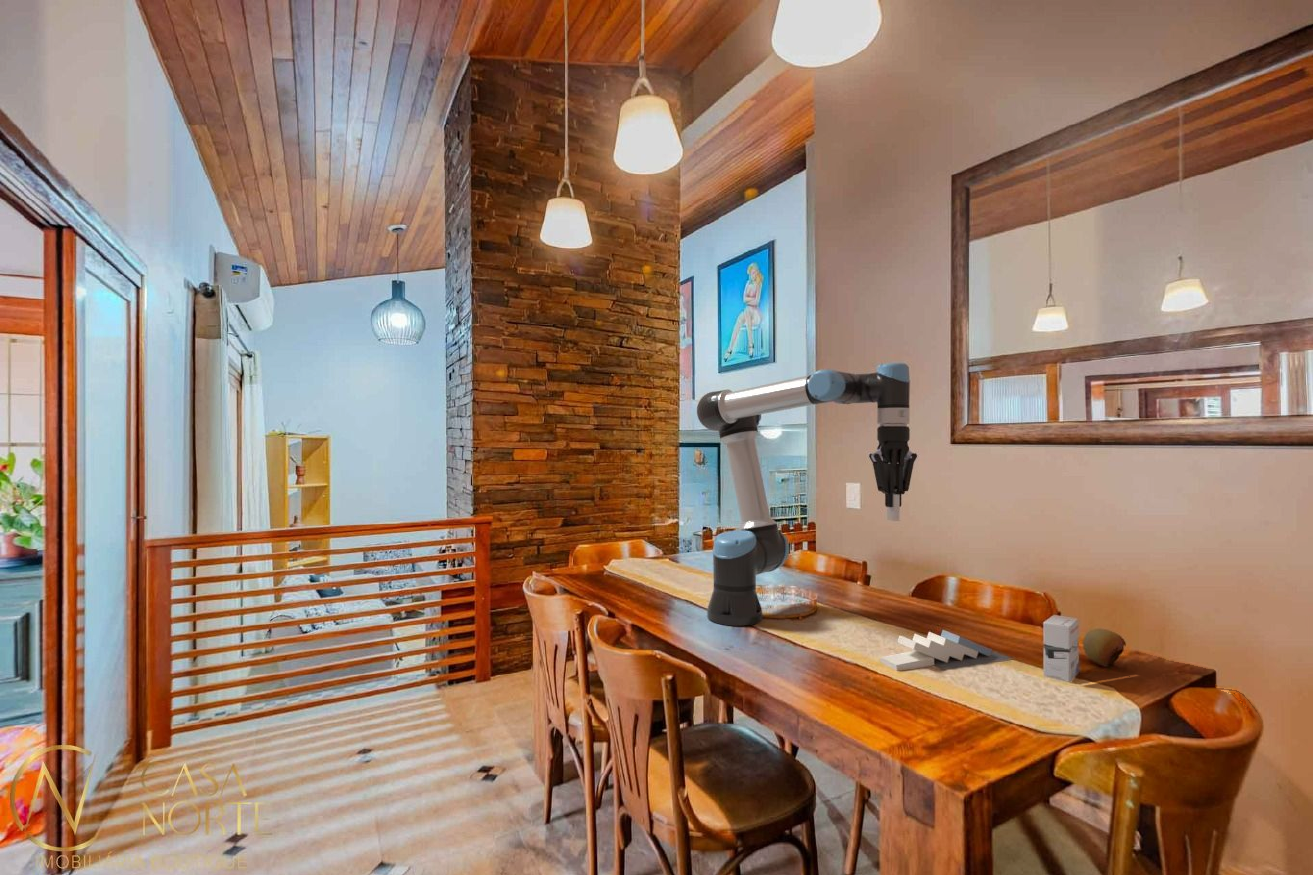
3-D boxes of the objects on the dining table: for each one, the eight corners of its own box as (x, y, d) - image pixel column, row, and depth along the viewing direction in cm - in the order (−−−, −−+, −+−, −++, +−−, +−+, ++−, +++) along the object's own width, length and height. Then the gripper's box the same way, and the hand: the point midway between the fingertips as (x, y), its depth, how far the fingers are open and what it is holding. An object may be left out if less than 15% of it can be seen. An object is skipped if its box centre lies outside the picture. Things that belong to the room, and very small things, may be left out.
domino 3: (961, 660, 136) (928, 647, 133) (944, 653, 140) (912, 640, 137) (964, 654, 136) (931, 640, 133) (946, 646, 140) (914, 633, 138)
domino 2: (947, 662, 134) (913, 649, 131) (930, 655, 139) (897, 642, 136) (949, 655, 134) (915, 642, 131) (932, 648, 139) (899, 635, 136)
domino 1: (934, 664, 133) (896, 672, 130) (917, 657, 138) (881, 664, 135) (934, 657, 133) (896, 665, 130) (917, 650, 138) (880, 657, 135)
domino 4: (976, 658, 137) (943, 645, 134) (958, 651, 142) (926, 638, 139) (978, 651, 137) (945, 638, 134) (960, 644, 142) (928, 631, 139)
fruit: (1121, 662, 135) (1121, 626, 135) (1129, 675, 128) (1129, 637, 128) (1080, 657, 139) (1080, 622, 139) (1085, 669, 132) (1085, 632, 132)
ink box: (1052, 667, 133) (1052, 613, 133) (1080, 673, 129) (1080, 618, 129) (1042, 678, 127) (1042, 621, 127) (1070, 685, 123) (1070, 626, 123)
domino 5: (989, 656, 138) (957, 643, 135) (971, 649, 143) (940, 636, 140) (991, 649, 138) (959, 636, 135) (973, 642, 143) (942, 629, 140)
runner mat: (906, 654, 141) (906, 652, 141) (974, 645, 147) (974, 643, 147) (943, 672, 130) (943, 670, 130) (1014, 661, 137) (1014, 659, 137)
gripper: (881, 425, 146) (881, 523, 146) (925, 425, 151) (925, 521, 151) (861, 425, 153) (861, 519, 153) (904, 426, 158) (904, 517, 158)
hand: (893, 520), depth 152 cm, fingers closed
